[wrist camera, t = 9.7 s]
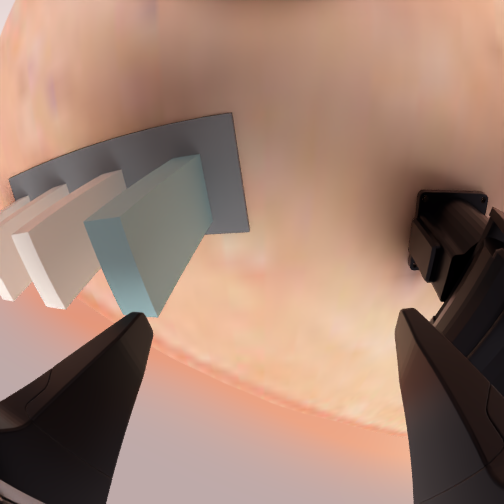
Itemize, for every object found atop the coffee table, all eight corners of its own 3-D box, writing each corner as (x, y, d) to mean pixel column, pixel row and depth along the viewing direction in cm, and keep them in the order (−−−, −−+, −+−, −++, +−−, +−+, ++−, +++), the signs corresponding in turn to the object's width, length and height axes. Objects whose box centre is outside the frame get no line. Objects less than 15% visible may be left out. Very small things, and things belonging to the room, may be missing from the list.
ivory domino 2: (121, 169, 20) (27, 231, 11) (138, 227, 22) (65, 309, 14) (102, 174, 20) (11, 235, 12) (119, 229, 22) (46, 306, 14)
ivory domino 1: (66, 183, 21) (-17, 240, 12) (83, 233, 23) (13, 301, 15) (53, 187, 21) (-26, 242, 13) (69, 235, 24) (2, 299, 15)
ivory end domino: (28, 195, 22) (-42, 245, 14) (44, 238, 25) (-17, 295, 16) (19, 198, 22) (-47, 247, 14) (34, 239, 25) (-24, 293, 17)
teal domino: (199, 153, 18) (119, 216, 10) (212, 220, 21) (158, 317, 12) (172, 158, 19) (83, 221, 10) (187, 222, 21) (123, 314, 13)
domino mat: (231, 112, 17) (231, 112, 17) (249, 230, 21) (249, 231, 21) (10, 178, 22) (8, 179, 21) (35, 246, 26) (33, 247, 26)
